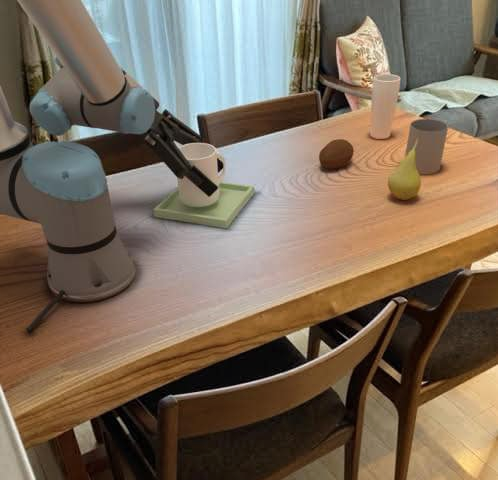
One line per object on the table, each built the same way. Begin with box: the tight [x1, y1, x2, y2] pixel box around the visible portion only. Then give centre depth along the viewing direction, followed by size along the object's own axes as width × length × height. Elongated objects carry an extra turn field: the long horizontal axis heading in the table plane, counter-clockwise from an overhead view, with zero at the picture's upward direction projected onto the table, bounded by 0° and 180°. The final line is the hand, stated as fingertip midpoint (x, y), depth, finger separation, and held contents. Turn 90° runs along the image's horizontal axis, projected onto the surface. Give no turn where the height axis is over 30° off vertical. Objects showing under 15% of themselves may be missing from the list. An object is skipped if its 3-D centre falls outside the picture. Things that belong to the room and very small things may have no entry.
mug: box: [176, 142, 226, 207], centre depth 114 cm, size 9×12×11 cm
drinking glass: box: [369, 73, 401, 140], centre depth 140 cm, size 7×7×15 cm
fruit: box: [387, 138, 422, 201], centre depth 114 cm, size 7×8×12 cm
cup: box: [404, 118, 449, 175], centre depth 126 cm, size 8×8×10 cm
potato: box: [318, 138, 355, 170], centre depth 130 cm, size 7×10×6 cm
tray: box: [152, 181, 255, 229], centre depth 117 cm, size 17×17×2 cm
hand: (217, 180), depth 114 cm, fingers closed on mug, 10 cm apart
